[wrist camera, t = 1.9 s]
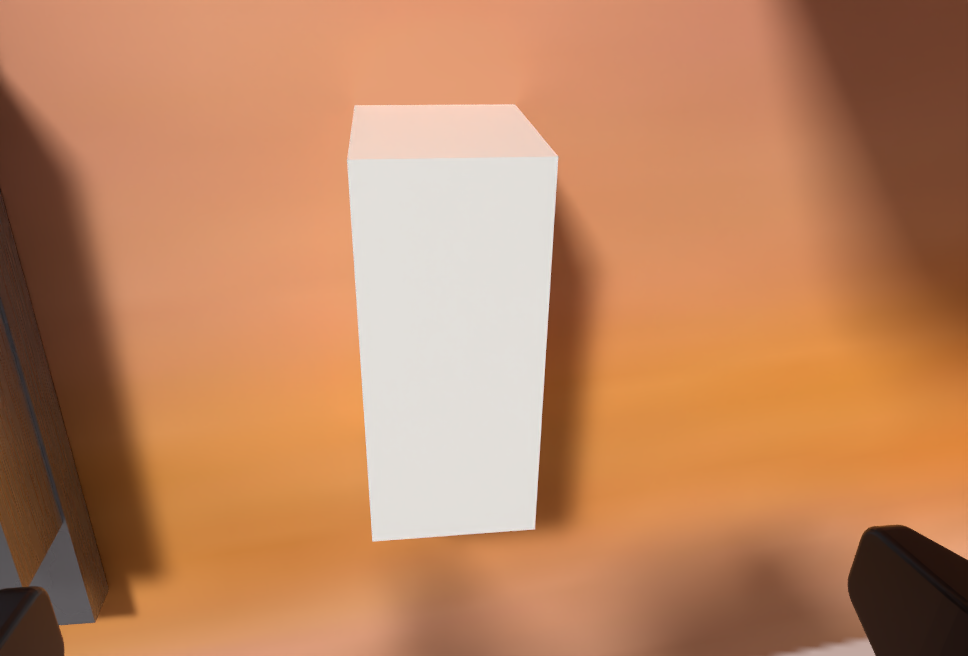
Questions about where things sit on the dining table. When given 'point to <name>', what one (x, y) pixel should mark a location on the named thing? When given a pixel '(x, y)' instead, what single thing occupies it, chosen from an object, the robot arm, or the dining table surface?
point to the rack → (39, 466)
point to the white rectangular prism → (451, 313)
